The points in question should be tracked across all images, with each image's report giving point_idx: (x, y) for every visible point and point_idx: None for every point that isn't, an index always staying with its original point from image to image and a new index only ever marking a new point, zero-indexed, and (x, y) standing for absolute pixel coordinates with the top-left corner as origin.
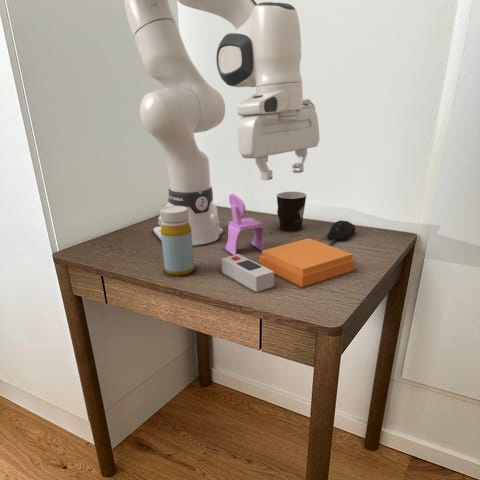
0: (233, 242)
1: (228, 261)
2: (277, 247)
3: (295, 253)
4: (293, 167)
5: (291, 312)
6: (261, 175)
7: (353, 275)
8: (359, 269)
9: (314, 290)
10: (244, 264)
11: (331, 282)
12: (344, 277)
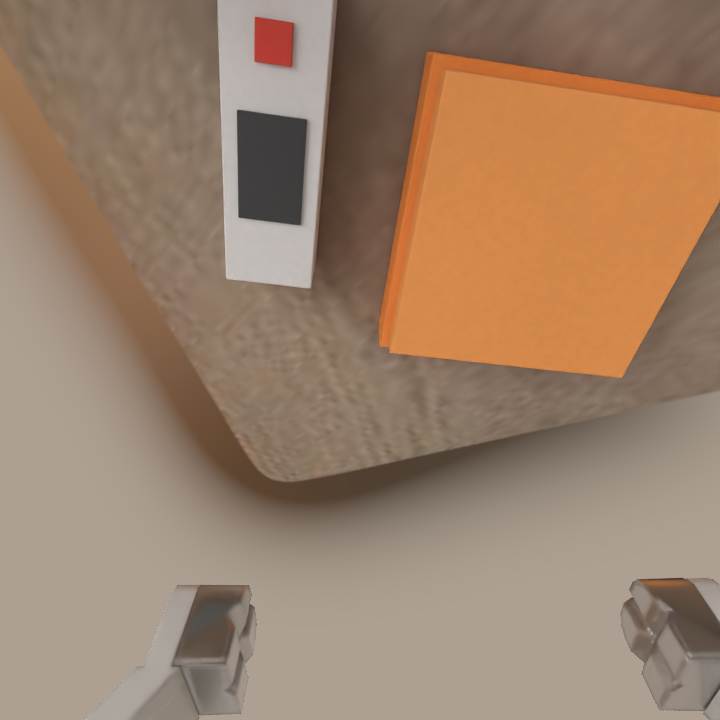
0: None
1: (223, 42)
2: (535, 100)
3: (510, 229)
4: (662, 631)
5: (241, 399)
6: (165, 620)
7: None
8: None
9: (387, 360)
10: (256, 154)
11: None
12: None
